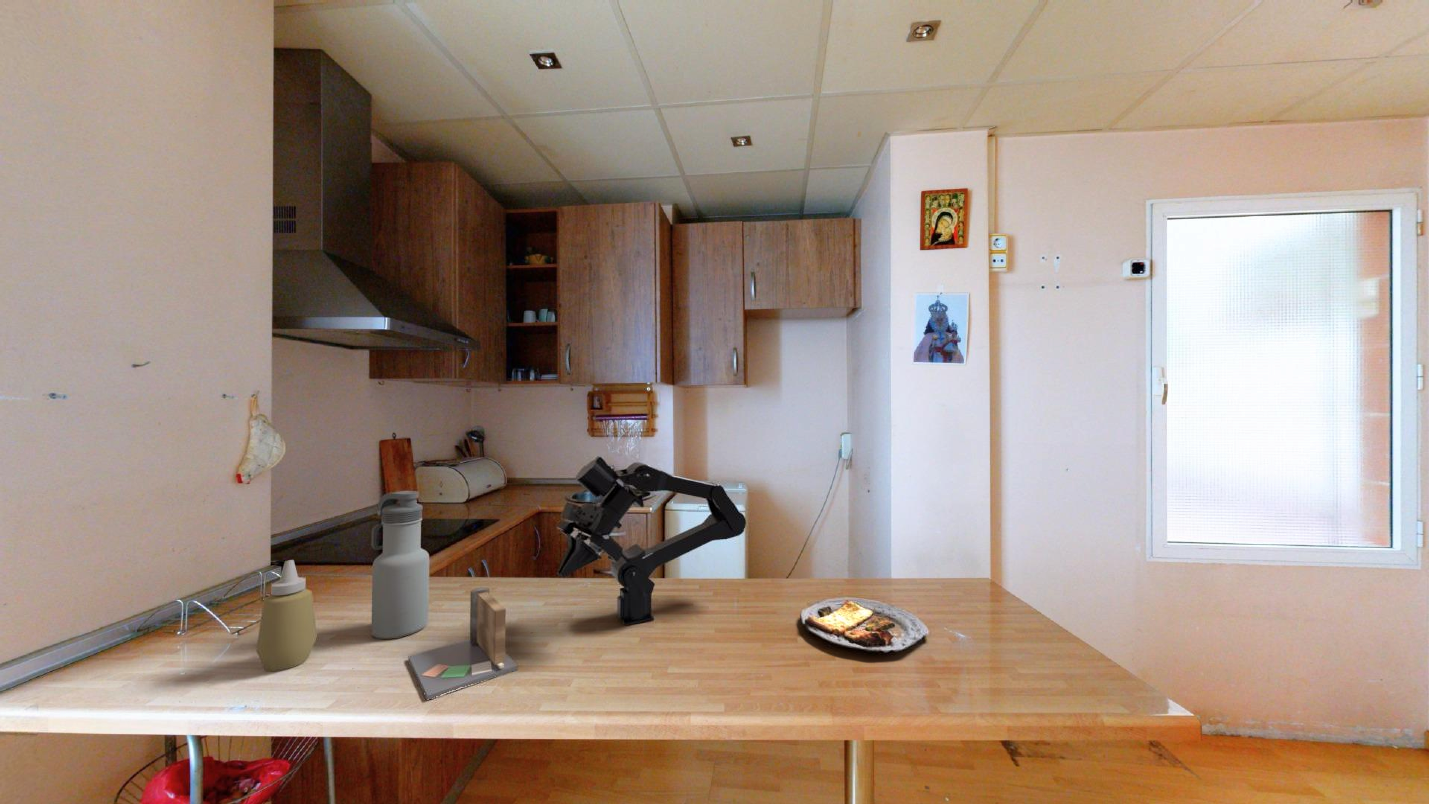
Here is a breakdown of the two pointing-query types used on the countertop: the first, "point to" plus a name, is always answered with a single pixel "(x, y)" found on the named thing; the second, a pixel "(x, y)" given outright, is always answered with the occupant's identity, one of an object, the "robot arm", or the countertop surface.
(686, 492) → the robot arm
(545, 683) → the countertop surface
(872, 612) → the food plate
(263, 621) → the squeeze bottle
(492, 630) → the upright wooden block
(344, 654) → the countertop surface
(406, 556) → the water bottle
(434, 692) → the grey flat board
